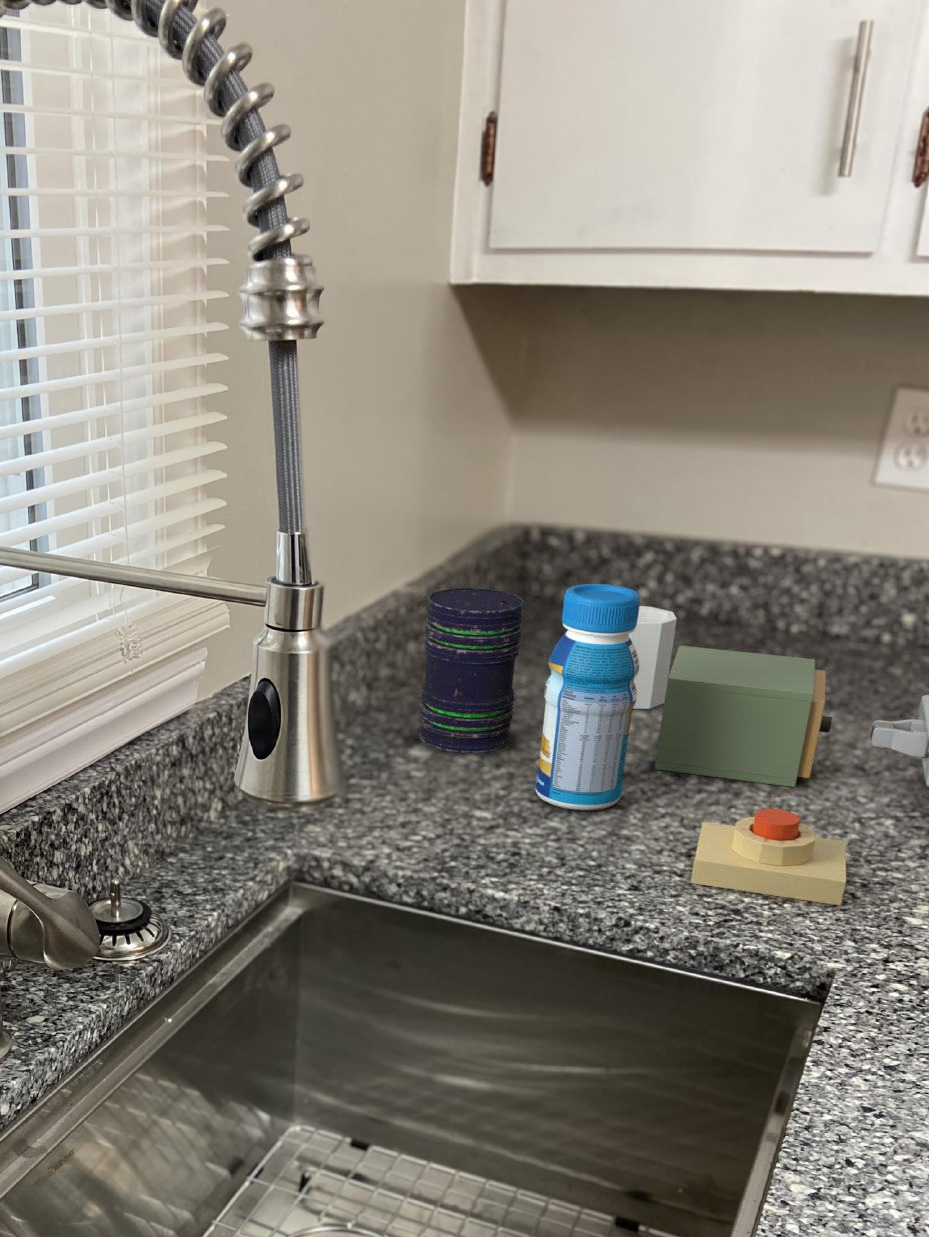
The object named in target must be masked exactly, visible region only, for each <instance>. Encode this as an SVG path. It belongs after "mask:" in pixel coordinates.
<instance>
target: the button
mask: <svg viewBox="0 0 929 1237" xmlns="http://www.w3.org/2000/svg"><path fill="white" fill-rule="evenodd" d="M754 817H755V820H754V825H753V830H752V833H754V834H755V835H757V836H760V837H763V838H766V839H770V840H777V841H790V840H795V839H797V834H798V829H799V824H801V818H800V816H798V815H797V814H795V813H793V812H791V811H788V810H784V809H777V808H764V809H763V808H762V809H759V810H757V811H756V812H755V814H754Z"/></svg>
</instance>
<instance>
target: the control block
mask: <svg viewBox="0 0 929 1237" xmlns="http://www.w3.org/2000/svg"><path fill="white" fill-rule="evenodd" d="M754 820H755V816H747V817H745V818H742V819H739V820H738V821H735V824H734V825H730V824H724V823H723V824H722V823H716V822H715V823H714V822H708V821H702V824H701V828H700V832H699V833H700V834H699V837H698V842H697V847H696V852H695V855H694V861H693V867H692V872H691V879H690V884H694V885H700V886H708V887H715V888H720V889H721V888H722V889H728V890H734V891H741V892H747V893H754V894H761V895H767V896H774V897H781V898H788V899H792V900H793V899H794V900H801V901H808V902H815V903H820V904H828V905H832V906H833V905H834V906H842V904H843V899H844V895H845V890H846V885H847V842H846V840H838V839H832V838H825V837H816V835H817V834H816V832H815V831H814V830H812V829H811V828H810V827H809V826H808V825H806V824H803V823H800V824H799V829H798V834H797V839H795V840H790V841H777V840H770V839H766V838H763V837H760V836H757V835H755V834H754V833H752V830H753V825H754Z"/></svg>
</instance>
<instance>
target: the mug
mask: <svg viewBox="0 0 929 1237" xmlns="http://www.w3.org/2000/svg"><path fill="white" fill-rule="evenodd" d="M677 620H678V618H677V617H676V615H675V613H674V611H671V610H667V609H662V608H658V607H655V606H650V605H649V606H648V605H647V606H646V605H640V606H639V614H638V620H637V625H636V627H635V630H634V631H633V632H632V633H630V634H628V636H629V637H630V639H631V641H632V643H633V645H634V647H635V650H636V652H637V656H638V661H639V671H638V673H637V675H636V676H635V678H634V684H635V687H636V690H637V697H636V703H635V705H634V707H633V710H640V709H641V710H650V709H653V708H655V707H657V706H661V705H664V701H665V694H666V688H667V681H668V677H669V674H670V669H671V668H670V667H671V659H672V655H673V654H672V653H673V647H674V641H675V640H674V639H675V633H676V627H677Z"/></svg>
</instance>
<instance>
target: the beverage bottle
mask: <svg viewBox="0 0 929 1237" xmlns="http://www.w3.org/2000/svg"><path fill="white" fill-rule="evenodd" d="M563 598H564V599H563V606H562V616H561V622H562V626H563V627H564V628H565V629H566V632H565V633H563V635H562V636H561V638H560V639H559V640H558V642H557V643H556V644H555V646H554V647H553V650H552V652H551V654H550V657H549V660H548V666H549V669H550V672H551V673H550V675H549V677H548V679H547V680H546V682H545V685H544V689H543V690H544V691H543V697H544V701H545V705H544V715H543V724H542V727H543V728H542V735H541V744H540V751H539V752H540V753H539V762H538V768H537V774H536V777H535V787H534V789H535V792H536V794H537V796H538V797H539V798H540V800H543V801H544V802H546V803H547V804H550V805H551V806H555V807H558V808H562V809H566V810H572V811H599V810H604V809H608V808H610V807H612V806H615V805H616V804H617V803H619V801H620V799H621V798H622V791H623V778H624V777H623V776H624V768H625V763H626V762H625V761H626V755H627V750H628V748H627V747H628V741H629V734H630V728H631V722H632V715H633V710H634V709H633V707H634V705H635V703H636V697H637V690H636V687H635V684H634V678H635V676H636V675H637V673H638V671H639V661H638V656H637V652H636V650H635V647H634V645H633V643H632V641H631V639H630V637H629V636H628V634H630V633H632V632H633V631H634V630H635V627H636V625H637V620H638V614H639V606H641V596H640V594H639V593H638V591H636V590H634V589H632V588H629V587H625V586H621V585H615V584H606V583H584V584H578V585H573V586H570V587H569V588H567V589H566V591H565V594H564V597H563Z"/></svg>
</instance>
